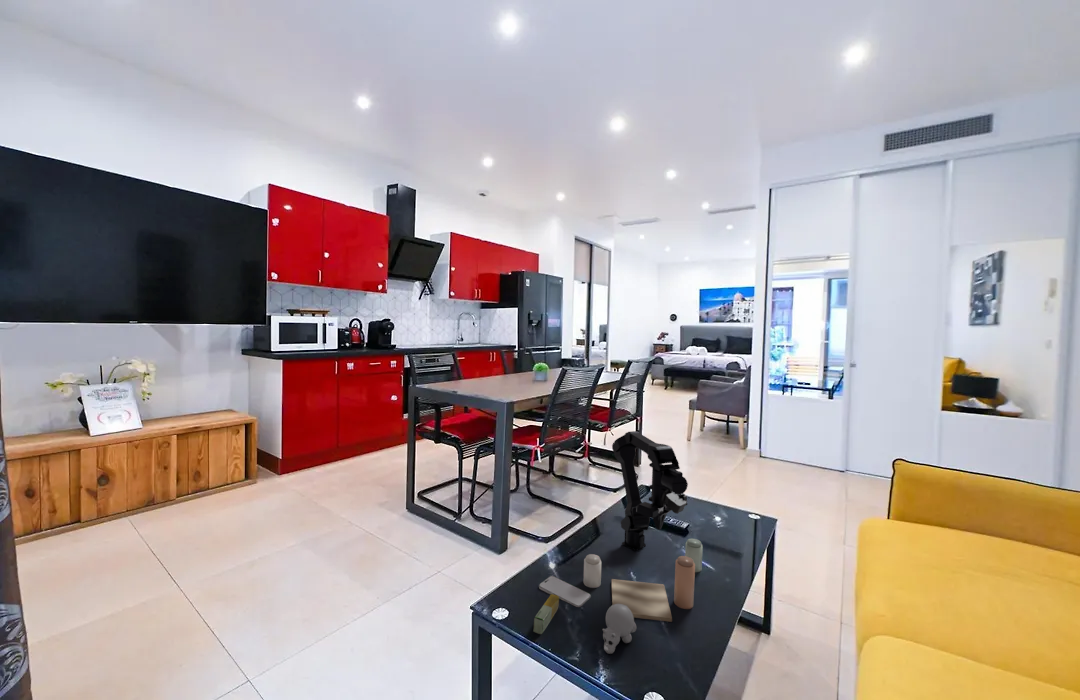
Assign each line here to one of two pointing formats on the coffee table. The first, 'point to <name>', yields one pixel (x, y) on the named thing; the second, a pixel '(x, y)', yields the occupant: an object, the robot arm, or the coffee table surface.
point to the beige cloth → (642, 599)
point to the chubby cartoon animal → (618, 626)
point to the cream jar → (592, 571)
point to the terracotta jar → (684, 582)
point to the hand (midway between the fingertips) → (658, 529)
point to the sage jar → (694, 552)
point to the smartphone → (564, 591)
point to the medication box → (546, 614)
